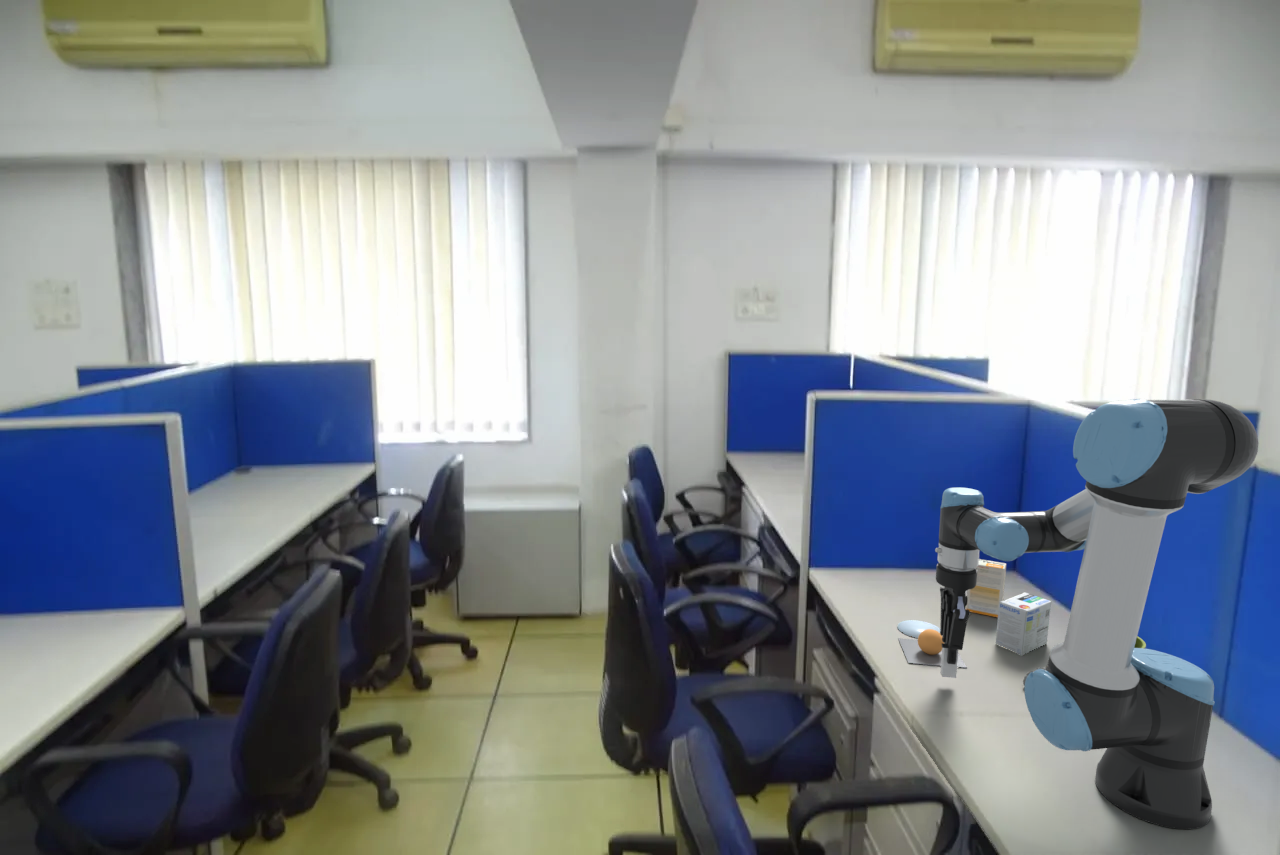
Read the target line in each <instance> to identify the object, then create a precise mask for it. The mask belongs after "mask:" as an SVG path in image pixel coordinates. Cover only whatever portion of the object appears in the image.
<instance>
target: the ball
mask: <svg viewBox="0 0 1280 855" xmlns="http://www.w3.org/2000/svg"><path fill="white" fill-rule="evenodd" d="M917 640H918V645H919V647H920V649H921V650H922V651H923V652H925V653H926V654H930V655H935V654H938V653H940V652H941V651H942V643H943V644H944V642H943V641H942V636H941V635H940V633H939V632H938V631H936V630H933V629H927V630H924V631H922V632H921V633H920V635H919V637H918V638H917Z"/></svg>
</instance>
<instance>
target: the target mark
mask: <svg viewBox="0 0 1280 855" xmlns="http://www.w3.org/2000/svg"><path fill="white" fill-rule="evenodd" d="M898 639H899V640H898V642H899V644H901V645H900V647H901V646H902V647H901V649H902V651H904V652H903V654H904V656H906V657H905V659H906V658H907V659H906V661H907V664H908V663H913V664H912V665H919V664H923V665H922V666H932V665H933V667H941V659H942V651H941V652H940V653H938V654H935V655H930V654H926V653H925V652H923V651H922V650H921V649H920V647H919V645H918V639H917V638H911V639H910V638H904V637H903V638H902V637H900V638H899V637H898ZM957 667H961V668H960V669H967V668H968V667H967V665H966V664H965V661H964V660H963V658H962V656H961V655H960V653H959V652H958V661H957Z"/></svg>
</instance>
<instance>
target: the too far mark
mask: <svg viewBox="0 0 1280 855" xmlns="http://www.w3.org/2000/svg"><path fill="white" fill-rule="evenodd" d="M927 629H933V630H936V631H938V632H939V633H940V626H937V625H935V624H934V623H931V622H927V621H924V620H917V619H912V620H911V619H910V620H909V619H908V620H903V621H900V622H898V624H897V630H899V632H901V633H902V632H903V633H902V634H904V635H906V636H909V637H911V636H912V637H911V638H914V637H915V638H914V639H918V637H919V635H920V633H921V632H922V631H924V630H927Z"/></svg>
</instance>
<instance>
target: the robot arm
mask: <svg viewBox="0 0 1280 855" xmlns="http://www.w3.org/2000/svg"><path fill="white" fill-rule="evenodd" d="M1258 451H1259V439H1258V434H1257V431H1256V428H1255V426H1254V424H1253V423H1252V422H1251V420H1250V419H1249V417H1247V416H1246V415H1245V414H1244V413H1243V412H1242V411H1241V410H1239V409H1237V408H1235V407H1233V406H1232V405H1231V404H1228V403H1225V402H1221V401H1218V400H1213V399H1199V398H1198V399H1197V398H1196V399H1141V398H1132V399H1128V400H1121V401H1119V400H1118V401H1111V402H1106V403H1103V404H1102V405H1100V406H1098V407H1097V408H1096V409H1093V410H1092V411H1091V412H1089V413H1088V414H1087V415H1086V416H1085V417H1084V418H1083V420H1082V421H1081V423H1080V425H1079V426H1078V429H1077V431H1076V432H1075V436H1074V440H1073V447H1072V455H1073V458H1074V460H1077V462H1076V463H1075V467H1076V469H1077V472H1078V473H1079V474H1080V476H1081V477H1082V478H1083V479H1084V480H1085V481H1086V482H1085V486H1084V488H1085V489H1083V490H1082V491H1080V492H1078V493H1076V494H1073V496H1071V497H1069V498H1067V499H1066V500H1064V501H1062V502H1060V503H1059V504H1056V505H1055V506H1053V507H1052V508H1049V509H1047V510H1040V511H1039V510H1038V511H1037V510H1036V511H1015V512H1013V511H1010V512H996V511H992V510H989V509H988V508H986V507H984V506H985V501H984V495H983V492H982V491H980V490H977V489H973V488H968V487H962V486H961V487H949V488H946V489H945V490H944V491H943V493H942V498H941V499H942V500H941V505H940V507H939V508H940V510H939V511H940V515H939V526H938V527H939V531H938V547H936V548H935V549H934V551H935V553H937V562H938V563H937V564H936V568H935V570H936V571H935V581H936V583H938V585H940V588H939V592H940V626H939V628H940V635H941V636H942V641H943V642H944V644H943V643H942V659H941V666H940V675H941V677H942V678H953V679H956V678H957V673H958V670H957V669H958V668H957V661H958V653H959V651H962V650H963V646H964V642H965V641H964V640H965V635H966V630H967V625H968V624H967V623H968V620H969V617H970V613H971V612H969V610H966V605H967V600H968V598H967V590H969V589H973V588H974V587H975V586H976V583H977V569H976V567H977V566H978V564H979V559H980V552H982V553H983V554H985V555H986V556H988V557H991V558H993V559H997V560H998V561H1003V562H1012V561H1015V560H1016V559H1018V558H1020V557H1022V556H1023V555H1024V554H1029V553H1031V554H1032V553H1051V552H1052V553H1056V552H1062V553H1063V552H1064V553H1071V552H1075V551H1083V552H1082V553H1083V555H1082V558H1081V562H1080V563H1081V564H1080V567H1079V572H1078V575H1077V581H1076V586H1075V590H1074V596H1073V601H1072V604H1071V609H1070V613H1069V618H1068V623H1067V627H1066V633H1065V637H1064V641H1063V642H1059V643H1057V644H1055V645H1054V646H1052V648H1051V649H1050V652H1049V657H1048V661H1047V665H1046V666H1047V668H1046V669H1045V670H1044V669H1037V668H1036V670H1033V671H1034V672H1031V673H1030V674H1029V675H1028V676H1027V678H1026V681H1025V686H1024V690H1023V691H1024V698H1025V704H1026V707H1027V710H1028V712H1029V715H1030V717H1031V720H1032V721H1033V724H1034V725H1035V727H1036V728H1037V730H1038V732H1040V734H1041V735H1042V736H1043V738H1044V739H1045V740H1046V741H1048V742H1049V743H1050V744H1052V745H1053V746H1054V747H1056V748H1058V749H1060V750H1063V751H1081V752H1088V751H1091V750H1100V749H1101V750H1102V749H1106V750H1105V751H1104V753H1103V754H1102V757H1101V759H1100V760H1098V762H1097V765H1096V767H1095V776H1094V779H1095V780H1094V781H1095V785H1096V787H1097V788H1098V791H1100V793H1101V794H1102V796H1104V797H1105V798H1106V799H1107V800H1108V801H1109V802H1111V803H1112V804H1113V805H1115V806H1116V807H1118V809H1120V810H1122V811H1124V812H1125V813H1127V814H1130V815H1132V816H1133V817H1136V818H1138V819H1141V820H1142V821H1145V822H1148V823H1150V824H1154V825H1158V826H1161V827H1166V828H1169V829H1170V828H1171V829H1178V830H1193V829H1199V828H1202V827H1204V826H1206V825H1207V824H1208V823H1209V822H1210V819H1211V816H1212V810H1213V800H1212V797H1211V793H1210V792H1211V791H1210V789H1209V784H1208V780H1207V776H1206V772H1205V769H1204V762H1205V756H1206V750H1207V744H1208V739H1209V738H1208V737H1209V734H1210V733H1209V732H1210V727H1211V720H1212V713H1213V708H1214V706H1215V700H1214V694H1215V685H1214V680H1213V678H1212V677H1211V676H1210V675H1209V674H1208V672H1206V671H1205V670H1203V668H1200V667H1199V666H1198V665H1195V664H1194V663H1191V662H1190V661H1187V660H1185V659H1184V658H1181V657H1178V656H1175V655H1173V654H1170V653H1166V652H1163V651H1159V650H1155V649H1151V648H1145V649H1144V648H1134V647H1135V643H1136V638H1137V636H1138V635H1139V630H1140V626H1141V622H1142V618H1143V613H1144V610H1145V605H1146V602H1147V598H1148V594H1149V589H1150V586H1151V581H1152V578H1153V574H1154V568H1155V565H1156V562H1157V561H1156V560H1157V557H1158V553H1159V550H1160V549H1159V548H1160V546H1161V541H1162V537H1163V533H1164V530H1165V526H1166V520H1167V518H1168V516H1169V515H1170V514H1172V513H1175V512H1178V511H1180V510H1181V509H1182V508H1184V505H1185V502H1186V499H1187V496H1188V495H1187V494H1193V495H1194V494H1196V495H1200V494H1206V493H1208V492H1210V491H1212V490H1214V489H1217V488H1219V487H1221V486H1223V485H1226V484H1228V483H1230V482H1232V481H1234V480H1236V479H1237V478H1239V477H1241V476H1242V475H1243V474H1245V472H1247V471H1248V470H1249V469H1250V468H1251V467H1252V466H1253V463H1254V462H1255V460H1256V457H1257V455H1258Z"/></svg>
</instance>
